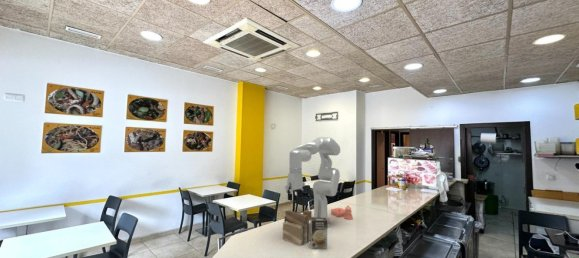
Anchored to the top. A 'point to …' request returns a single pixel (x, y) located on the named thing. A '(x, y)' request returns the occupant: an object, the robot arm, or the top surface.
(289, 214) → the plank
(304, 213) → the lid
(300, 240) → the open wooden box
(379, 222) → the top surface
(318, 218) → the coffee box
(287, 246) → the top surface
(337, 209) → the pink lumpy piece
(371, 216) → the top surface
